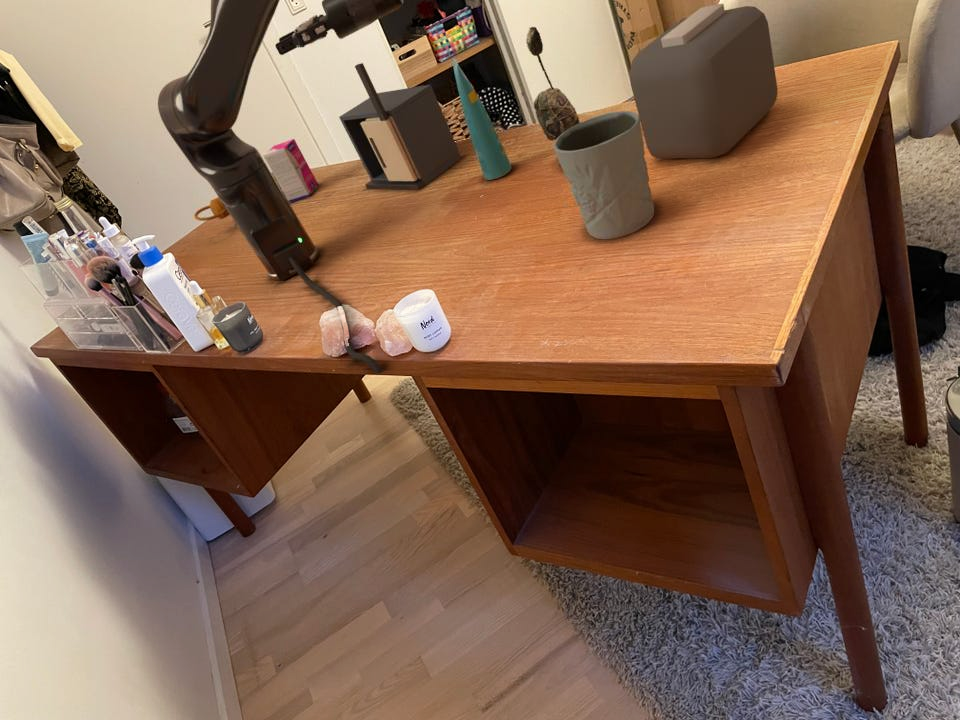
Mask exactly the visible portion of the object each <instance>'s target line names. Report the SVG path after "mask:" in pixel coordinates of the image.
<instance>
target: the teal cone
mask: <svg viewBox="0 0 960 720" xmlns="http://www.w3.org/2000/svg"><path fill="white" fill-rule="evenodd" d="M452 62H453V64H452V66H453V73H454V79H455V82H456V87H457V92H458V95H459V100H460V103H461V108H462V112H463V116H464V119H465V122H466V123H465V124H466V126H467V129H468V133H469V136H470V139H471V142H472V146H473V148H474V152H475V155H476V158H477V160H478V163H479V166H480V169H481V171H482V175H483V177H484V180H486V181H492V180H496V179H499V178H501V177H504V176H505V175H507V174H508V173H510V171H511V170H512V164H511V163H510V160H509V158H508V156H507V153H506V150H505V148H504V146H503V144H502V142H501V139H500V137H499V135H498V133H497V131H496V128H495V126H494V125H493V124H494V123H493V122H492V120H491V118H490V116H489V113H488V112H487V110H486V108H485V106H484V105H483V102H482V100H481V99H480V97H479V95H478V93H477V92H476V90H475V89H474V87H473V85H472V84H471V82H470V81H469V79H468V78H467V76H466V75H465V72H464V71H463V69H462V68H461V67H460V65H459V64H458V62H457V60H456V58H455V57H454V56H452Z"/></svg>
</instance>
